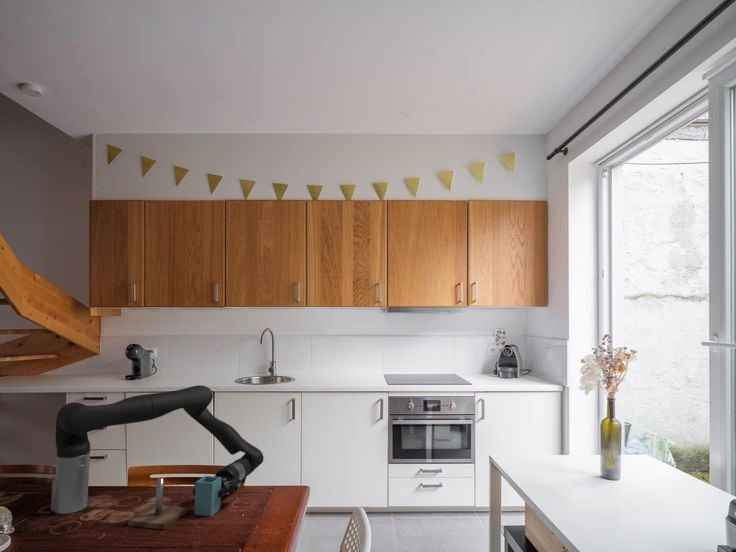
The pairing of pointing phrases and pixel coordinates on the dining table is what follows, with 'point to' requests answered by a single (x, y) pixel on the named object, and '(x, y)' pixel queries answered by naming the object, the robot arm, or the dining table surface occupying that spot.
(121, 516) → the dining table surface
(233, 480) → the robot arm
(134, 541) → the dining table surface
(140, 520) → the walnut base plate
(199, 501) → the teal sleeve
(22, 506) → the dining table surface
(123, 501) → the dining table surface
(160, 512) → the steel post
